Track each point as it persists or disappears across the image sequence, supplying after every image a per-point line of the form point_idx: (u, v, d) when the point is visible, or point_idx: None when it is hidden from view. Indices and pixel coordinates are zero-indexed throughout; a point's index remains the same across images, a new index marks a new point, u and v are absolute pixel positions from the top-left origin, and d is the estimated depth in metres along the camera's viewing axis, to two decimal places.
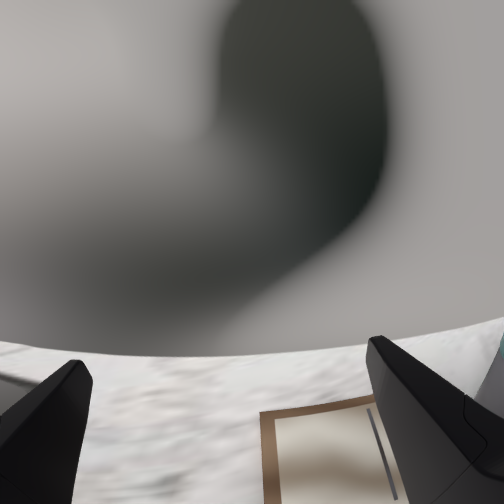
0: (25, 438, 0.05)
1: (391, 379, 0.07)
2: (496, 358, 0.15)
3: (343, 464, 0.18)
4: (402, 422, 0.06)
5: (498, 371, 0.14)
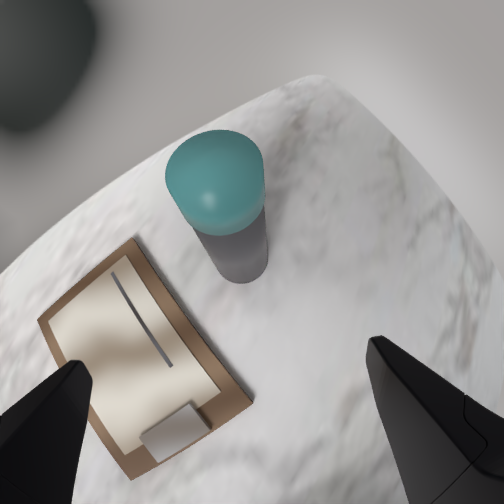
0: (25, 439, 0.05)
1: (391, 379, 0.07)
2: None
3: (111, 343, 0.22)
4: (402, 422, 0.06)
5: None
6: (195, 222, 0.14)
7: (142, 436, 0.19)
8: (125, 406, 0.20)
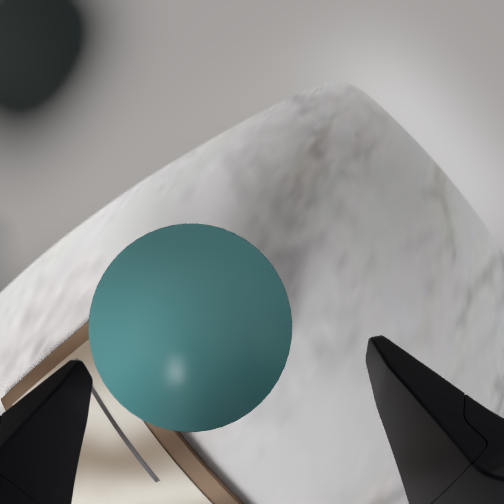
0: (25, 438, 0.05)
1: (391, 379, 0.07)
2: None
3: (84, 445, 0.15)
4: (402, 422, 0.06)
5: None
6: None
7: None
8: None
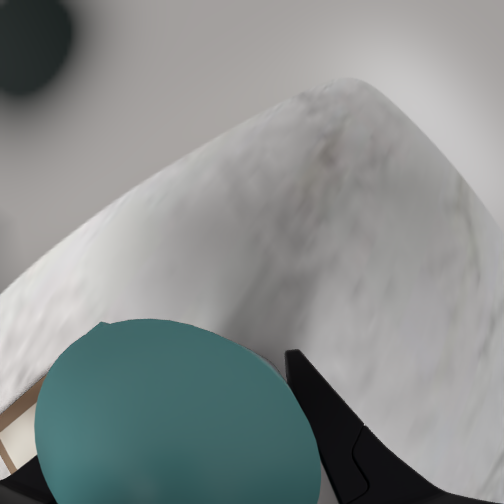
0: None
1: None
2: None
3: None
4: None
5: None
6: None
7: None
8: None
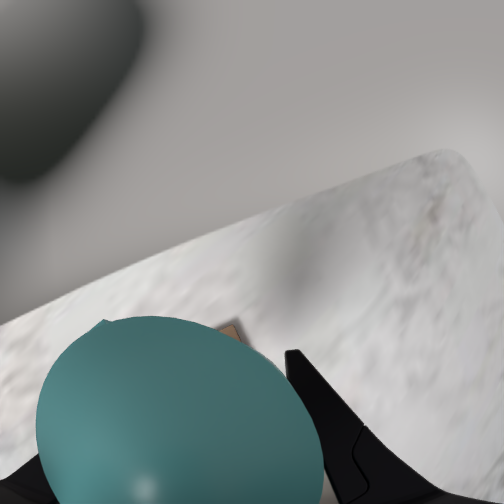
0: None
1: None
2: None
3: None
4: None
5: None
6: None
7: None
8: None
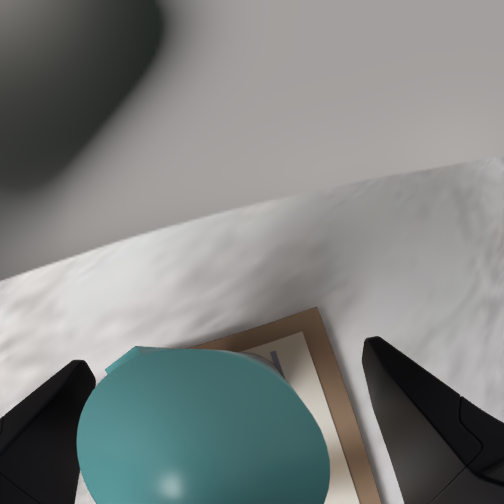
0: (28, 439, 0.05)
1: (386, 380, 0.07)
2: None
3: None
4: (397, 423, 0.06)
5: None
6: None
7: None
8: None
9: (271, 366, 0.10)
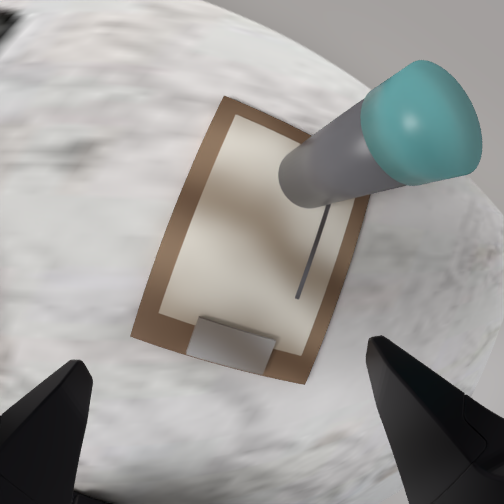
0: (25, 438, 0.05)
1: (391, 379, 0.07)
2: (354, 108, 0.11)
3: (275, 218, 0.19)
4: (402, 422, 0.06)
5: (346, 129, 0.11)
6: (384, 138, 0.09)
7: (204, 321, 0.18)
8: (219, 278, 0.19)
9: None
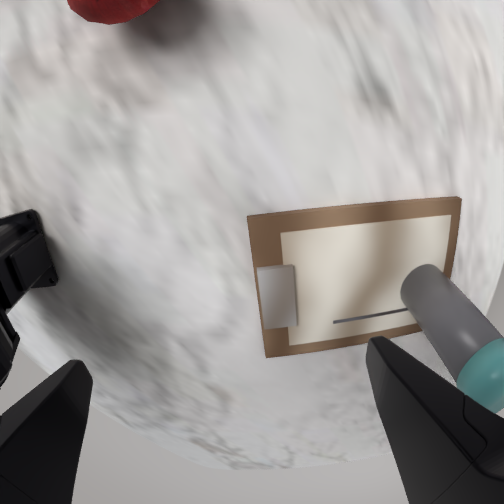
0: (25, 439, 0.05)
1: (391, 379, 0.07)
2: (491, 330, 0.14)
3: (386, 280, 0.22)
4: (402, 422, 0.06)
5: (478, 331, 0.14)
6: (482, 367, 0.12)
7: (291, 271, 0.21)
8: (328, 265, 0.21)
9: None
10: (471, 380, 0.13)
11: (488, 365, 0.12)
